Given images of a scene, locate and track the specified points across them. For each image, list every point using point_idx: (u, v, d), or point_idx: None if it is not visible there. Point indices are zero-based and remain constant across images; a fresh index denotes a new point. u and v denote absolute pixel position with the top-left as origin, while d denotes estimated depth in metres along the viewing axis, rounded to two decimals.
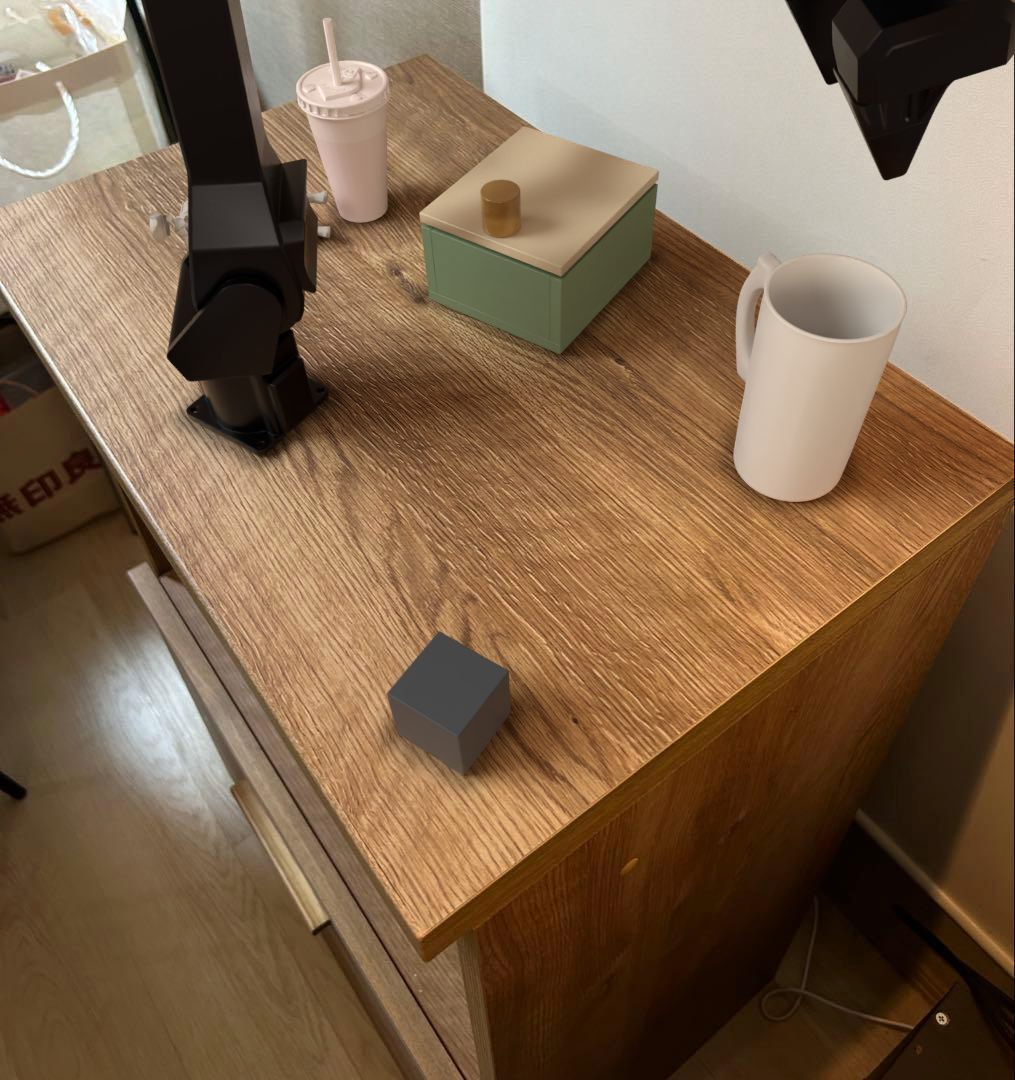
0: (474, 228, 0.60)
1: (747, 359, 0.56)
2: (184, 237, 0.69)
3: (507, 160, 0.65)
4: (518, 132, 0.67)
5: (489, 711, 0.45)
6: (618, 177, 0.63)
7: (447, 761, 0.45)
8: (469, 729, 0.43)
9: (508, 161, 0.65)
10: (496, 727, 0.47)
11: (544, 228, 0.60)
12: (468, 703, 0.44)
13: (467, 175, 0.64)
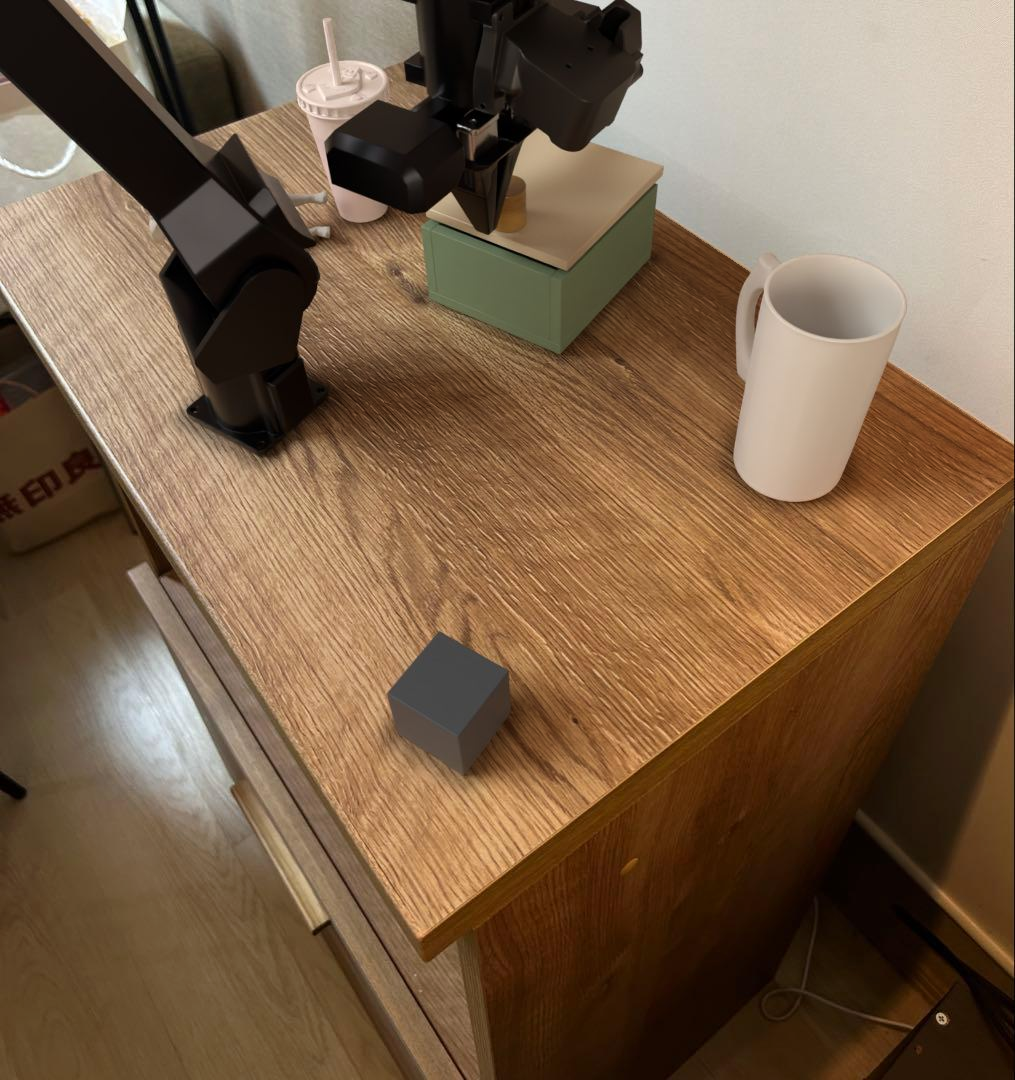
0: None
1: (747, 359, 0.56)
2: None
3: None
4: None
5: (489, 711, 0.45)
6: (623, 172, 0.64)
7: (447, 761, 0.45)
8: (469, 729, 0.43)
9: None
10: (496, 727, 0.47)
11: (549, 222, 0.61)
12: (468, 703, 0.44)
13: None
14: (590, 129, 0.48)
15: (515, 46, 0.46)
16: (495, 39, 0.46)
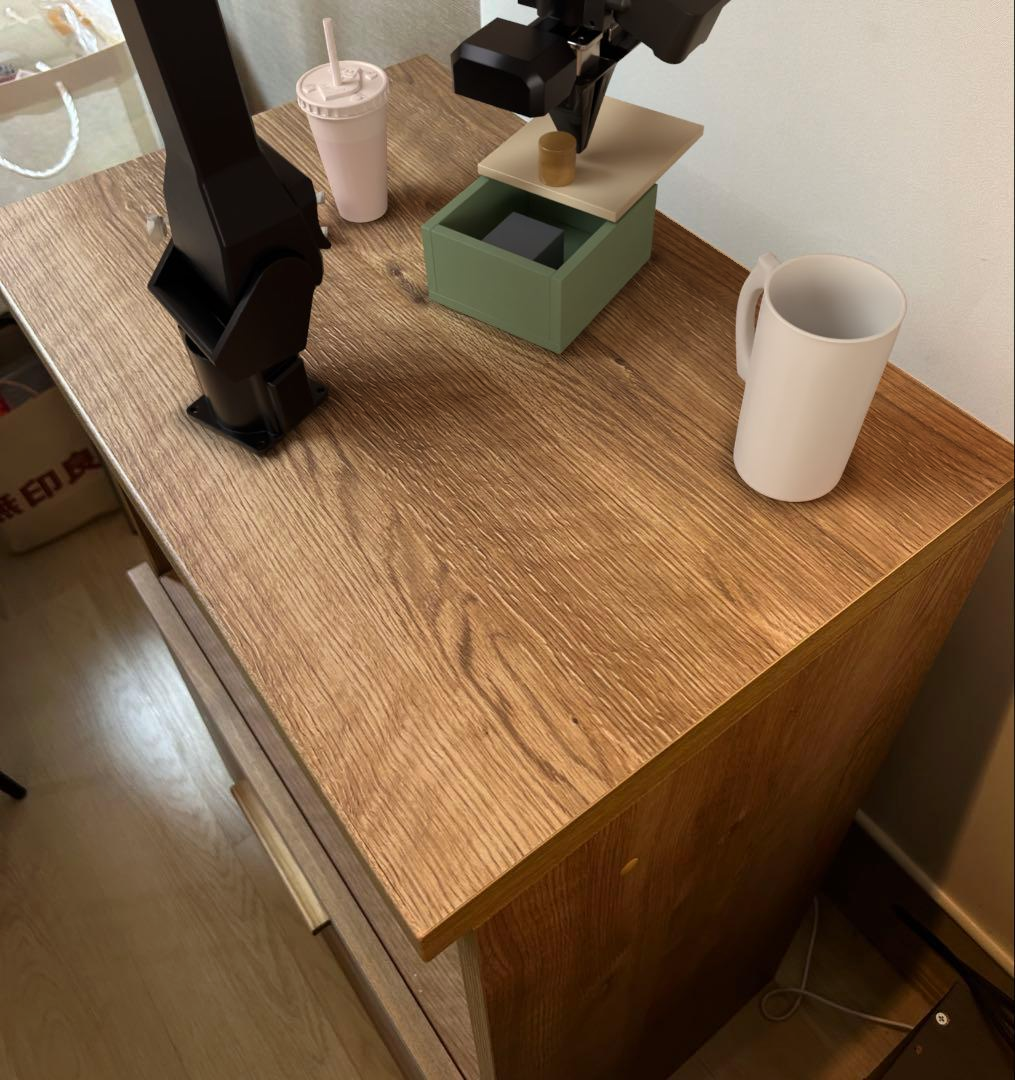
0: (530, 178, 0.64)
1: (747, 359, 0.56)
2: None
3: None
4: None
5: (550, 260, 0.64)
6: (665, 132, 0.67)
7: None
8: (538, 262, 0.62)
9: None
10: None
11: (597, 177, 0.63)
12: (536, 245, 0.62)
13: (521, 130, 0.67)
14: (691, 42, 0.53)
15: None
16: None
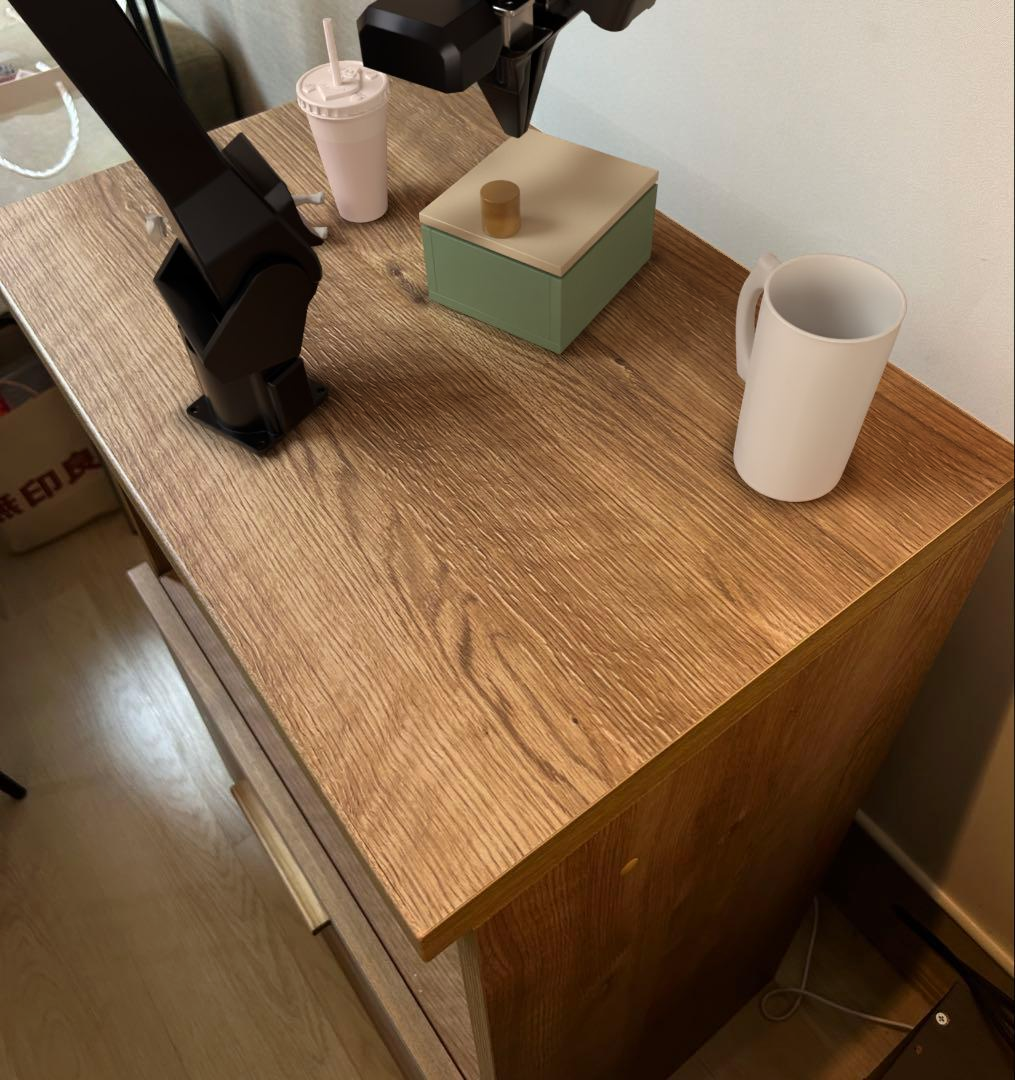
0: (473, 228, 0.60)
1: (747, 359, 0.56)
2: None
3: (507, 161, 0.65)
4: None
5: None
6: (618, 177, 0.63)
7: None
8: None
9: (507, 161, 0.65)
10: None
11: (543, 228, 0.60)
12: None
13: (467, 175, 0.64)
14: (632, 6, 0.46)
15: None
16: None
